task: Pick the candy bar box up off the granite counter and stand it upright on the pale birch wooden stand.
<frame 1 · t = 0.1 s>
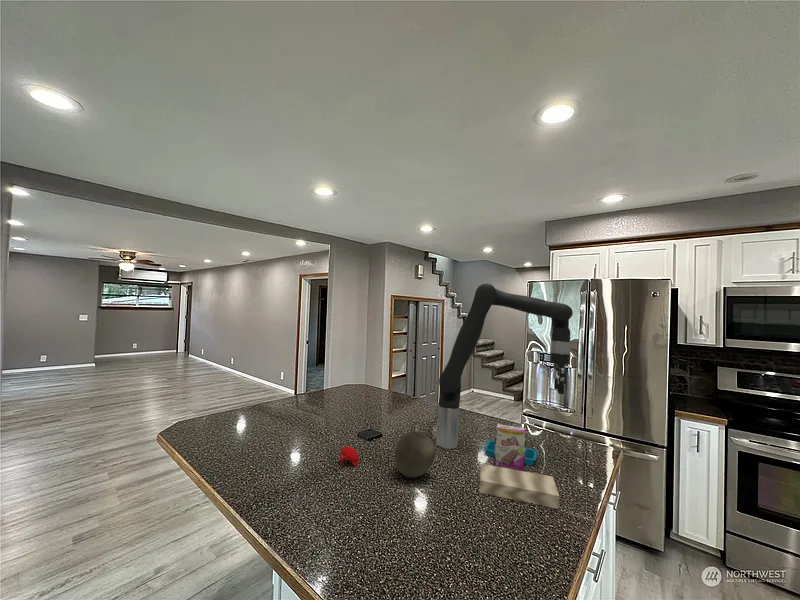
hand: (558, 391, 134), 29 cm above the countertop, tool pointing down, fingers open, 8 cm apart
birch stand: (516, 490, 110), on the countertop
ice cube tray: (510, 457, 138), on the countertop
candy bar box: (509, 471, 124), on the countertop
cap: (348, 464, 123), on the countertop
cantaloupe: (413, 476, 116), on the countertop
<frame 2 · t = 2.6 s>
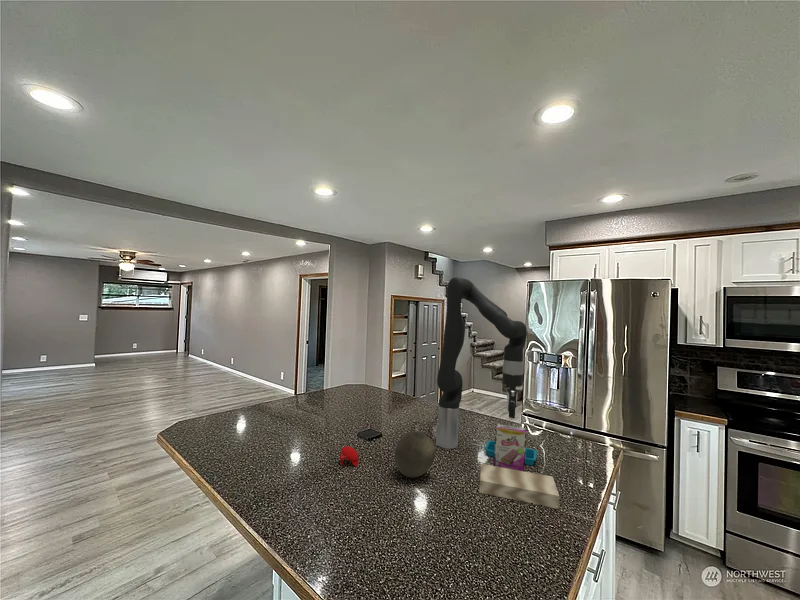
hand: (511, 414, 125), 21 cm above the countertop, tool pointing down, fingers open, 8 cm apart
nothing on the countertop moved.
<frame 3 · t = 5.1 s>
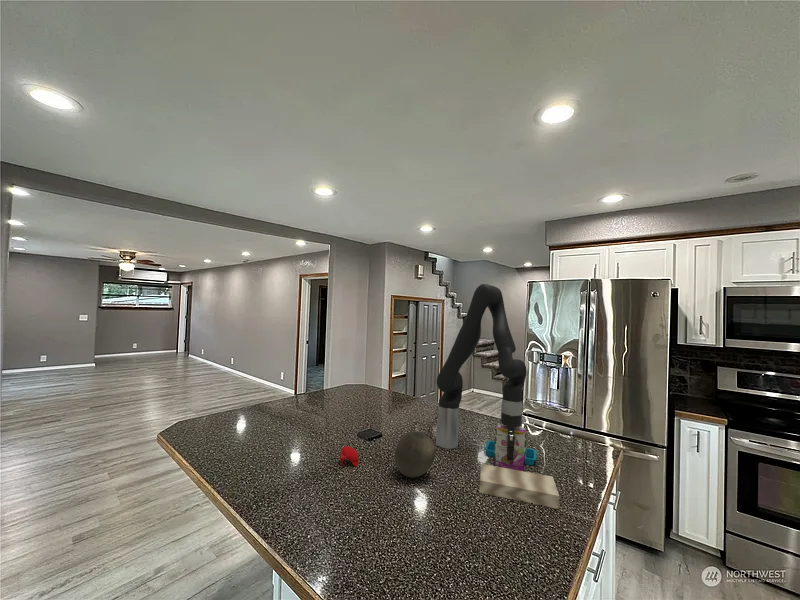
hand: (509, 456, 124), 5 cm above the countertop, tool pointing down, fingers closed on candy bar box, 5 cm apart
candy bar box: (509, 471, 124), on the countertop, touching gripper
everything else where it was.
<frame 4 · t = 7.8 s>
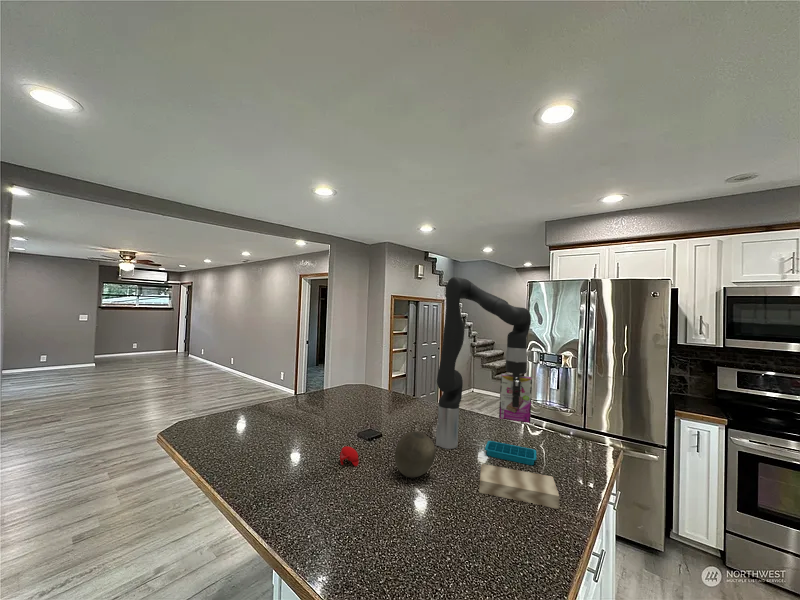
hand: (515, 405, 122), 26 cm above the countertop, tool pointing down, fingers closed on candy bar box, 5 cm apart
candy bar box: (514, 420, 122), point 20 cm above the countertop, touching gripper
everything else where it was.
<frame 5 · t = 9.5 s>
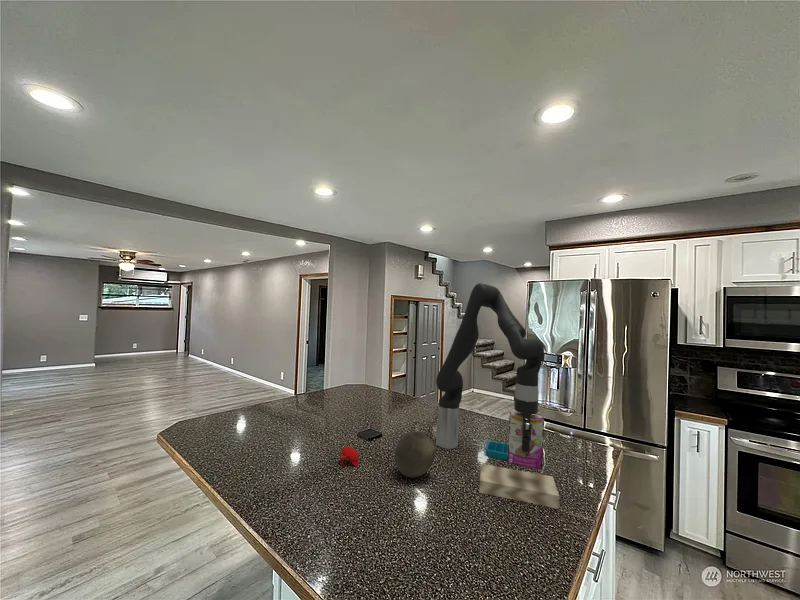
hand: (524, 448, 110), 14 cm above the countertop, tool pointing down, fingers closed on candy bar box, 5 cm apart
candy bar box: (524, 465, 110), point 9 cm above the countertop, touching gripper
everything else where it was.
when the fingers open (10 cm above the countertop, at t = 10.8 s): candy bar box stays where it is, resting on birch stand.
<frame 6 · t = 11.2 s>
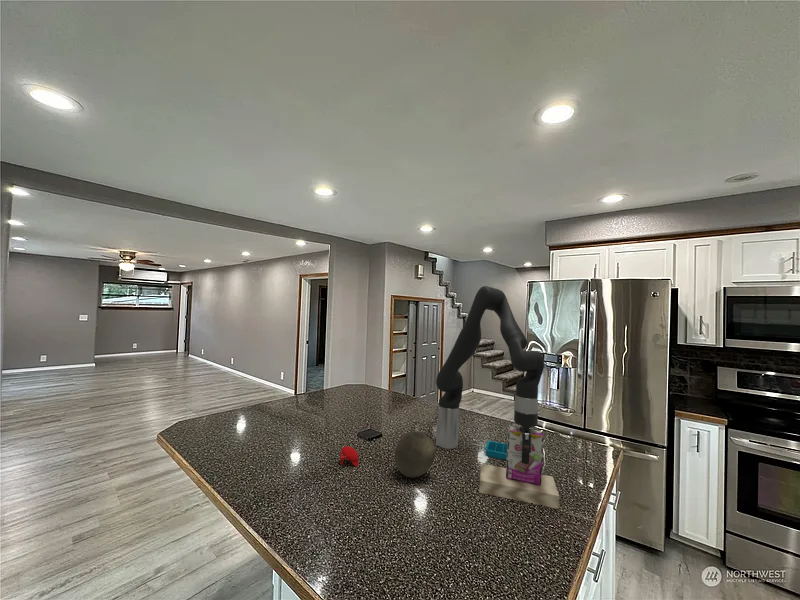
hand: (524, 458, 110), 11 cm above the countertop, tool pointing down, fingers open, 8 cm apart
candy bar box: (523, 480, 110), point 4 cm above the countertop, touching birch stand
everything else where it was.
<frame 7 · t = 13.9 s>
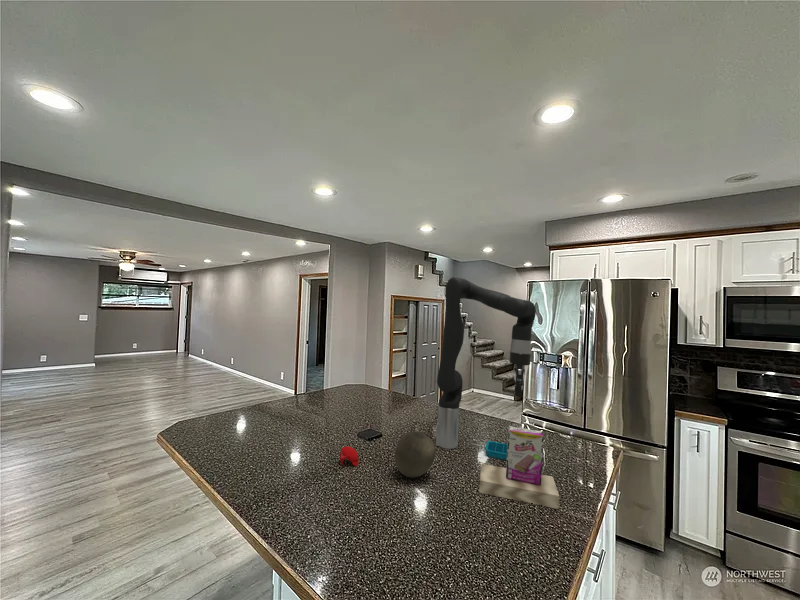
hand: (517, 393, 125), 29 cm above the countertop, tool pointing down, fingers open, 8 cm apart
nothing on the countertop moved.
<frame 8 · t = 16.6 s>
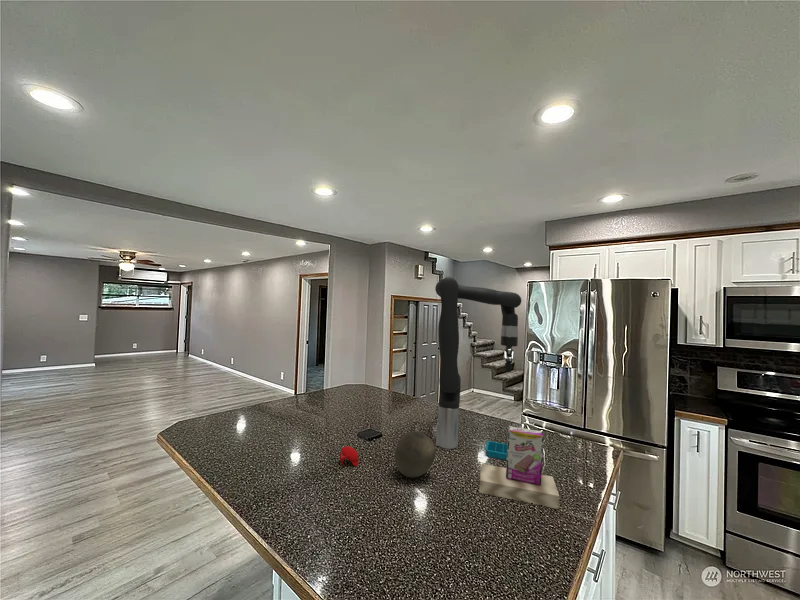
hand: (507, 370, 152), 34 cm above the countertop, tool pointing down, fingers open, 8 cm apart
nothing on the countertop moved.
at the end: candy bar box inside the target area on the birch stand (2.0 cm from its centre), point 3.8 cm above the birch stand's base; candy bar box tilted 0°; the gripper is holding nothing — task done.
